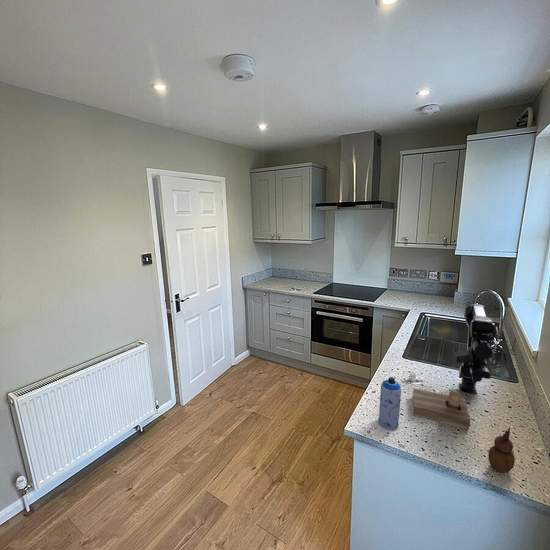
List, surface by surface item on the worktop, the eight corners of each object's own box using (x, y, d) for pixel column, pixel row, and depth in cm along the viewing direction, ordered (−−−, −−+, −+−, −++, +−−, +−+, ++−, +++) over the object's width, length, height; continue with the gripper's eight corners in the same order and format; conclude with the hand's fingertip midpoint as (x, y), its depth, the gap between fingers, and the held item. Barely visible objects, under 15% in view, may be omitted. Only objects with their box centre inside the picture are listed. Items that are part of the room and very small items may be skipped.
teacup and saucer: (423, 379, 151) (423, 372, 150) (422, 387, 144) (423, 379, 143) (404, 375, 155) (405, 368, 154) (403, 382, 148) (403, 375, 147)
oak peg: (446, 408, 126) (448, 389, 124) (457, 411, 124) (460, 391, 122) (447, 414, 122) (449, 395, 120) (458, 417, 120) (461, 397, 119)
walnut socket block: (412, 396, 136) (413, 388, 135) (463, 408, 127) (464, 398, 127) (412, 415, 123) (413, 406, 122) (469, 429, 115) (470, 419, 114)
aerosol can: (400, 431, 114) (404, 385, 110) (379, 429, 116) (383, 383, 112) (396, 417, 122) (399, 374, 118) (376, 416, 123) (379, 372, 119)
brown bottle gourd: (502, 460, 100) (508, 422, 97) (516, 475, 95) (524, 435, 92) (482, 461, 100) (488, 423, 97) (496, 476, 94) (502, 436, 91)
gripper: (453, 336, 134) (450, 368, 137) (459, 354, 117) (455, 389, 120) (483, 340, 129) (478, 373, 133) (493, 359, 113) (488, 396, 116)
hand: (474, 382), depth 126 cm, fingers closed
